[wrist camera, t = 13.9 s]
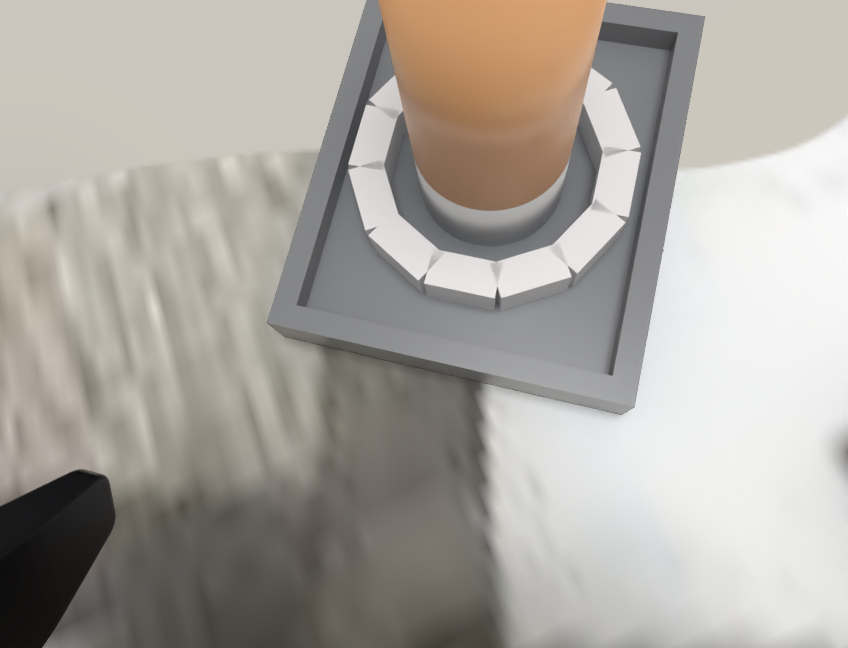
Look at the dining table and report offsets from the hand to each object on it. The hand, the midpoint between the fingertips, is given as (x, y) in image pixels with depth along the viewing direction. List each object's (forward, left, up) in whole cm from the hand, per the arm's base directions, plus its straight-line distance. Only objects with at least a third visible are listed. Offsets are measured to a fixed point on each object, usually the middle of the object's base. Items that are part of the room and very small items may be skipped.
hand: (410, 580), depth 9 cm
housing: (+8, +9, -14) cm, 18 cm away
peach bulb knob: (+8, +9, -13) cm, 17 cm away
